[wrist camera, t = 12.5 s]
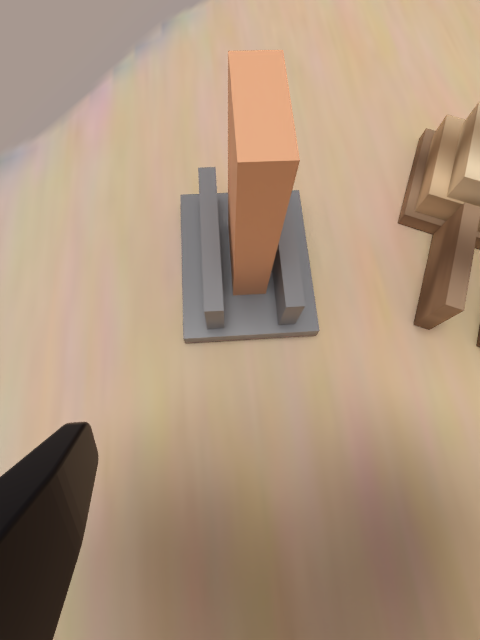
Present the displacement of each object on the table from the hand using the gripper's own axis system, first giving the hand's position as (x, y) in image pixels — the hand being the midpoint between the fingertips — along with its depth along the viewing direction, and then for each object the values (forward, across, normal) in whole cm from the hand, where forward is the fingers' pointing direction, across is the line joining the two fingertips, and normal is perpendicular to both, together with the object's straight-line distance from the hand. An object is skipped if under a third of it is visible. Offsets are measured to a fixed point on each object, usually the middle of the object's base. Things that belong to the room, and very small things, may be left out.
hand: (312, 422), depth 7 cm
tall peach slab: (+16, 0, +1) cm, 16 cm away
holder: (+17, 0, +2) cm, 17 cm away
